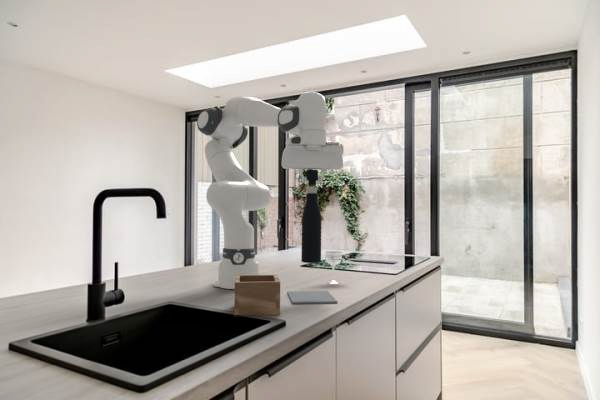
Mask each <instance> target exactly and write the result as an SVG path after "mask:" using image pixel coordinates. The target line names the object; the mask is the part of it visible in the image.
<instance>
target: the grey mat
mask: <svg viewBox="0 0 600 400" xmlns="http://www.w3.org/2000/svg"><path fill="white" fill-rule="evenodd" d="M287 295H288V298H289V299H290V301H291V302H290V303H291V304H292V305H311V304H312V305H315V304H317V305H318V304H319V305H321V304H324V305H325V304H338V300H337V299H336V298H335V297H334V296H333V295H332V294H331V293H330V291H329V290H307V291H306V290H305V291H303V290H302V291H301V290H299V291H298V290H297V291H295V290H294V291H291V290H290V291H287Z"/></svg>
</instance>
